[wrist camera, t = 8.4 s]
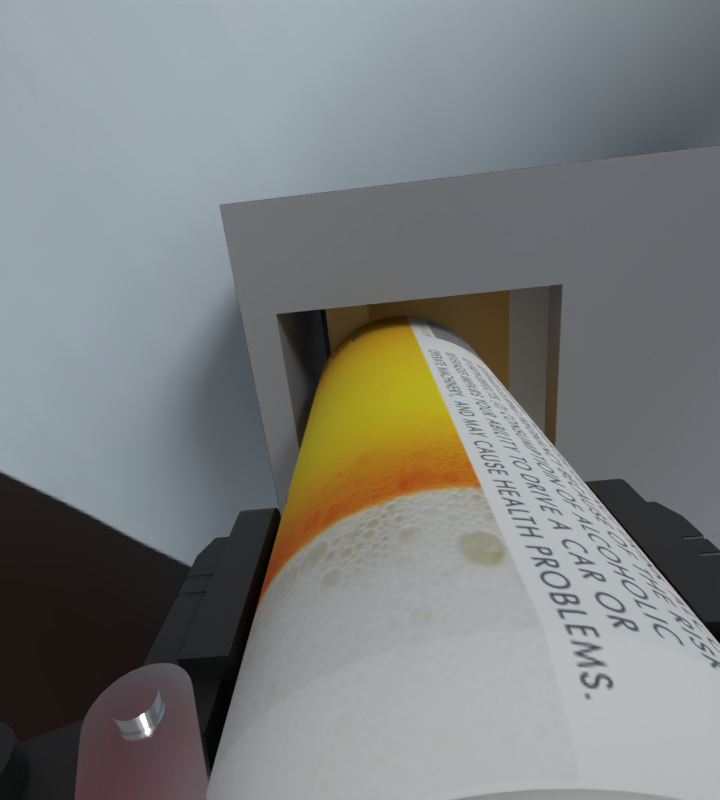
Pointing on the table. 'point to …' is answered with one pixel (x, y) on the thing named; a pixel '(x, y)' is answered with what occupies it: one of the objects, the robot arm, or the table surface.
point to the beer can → (458, 609)
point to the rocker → (479, 334)
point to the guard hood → (515, 269)
